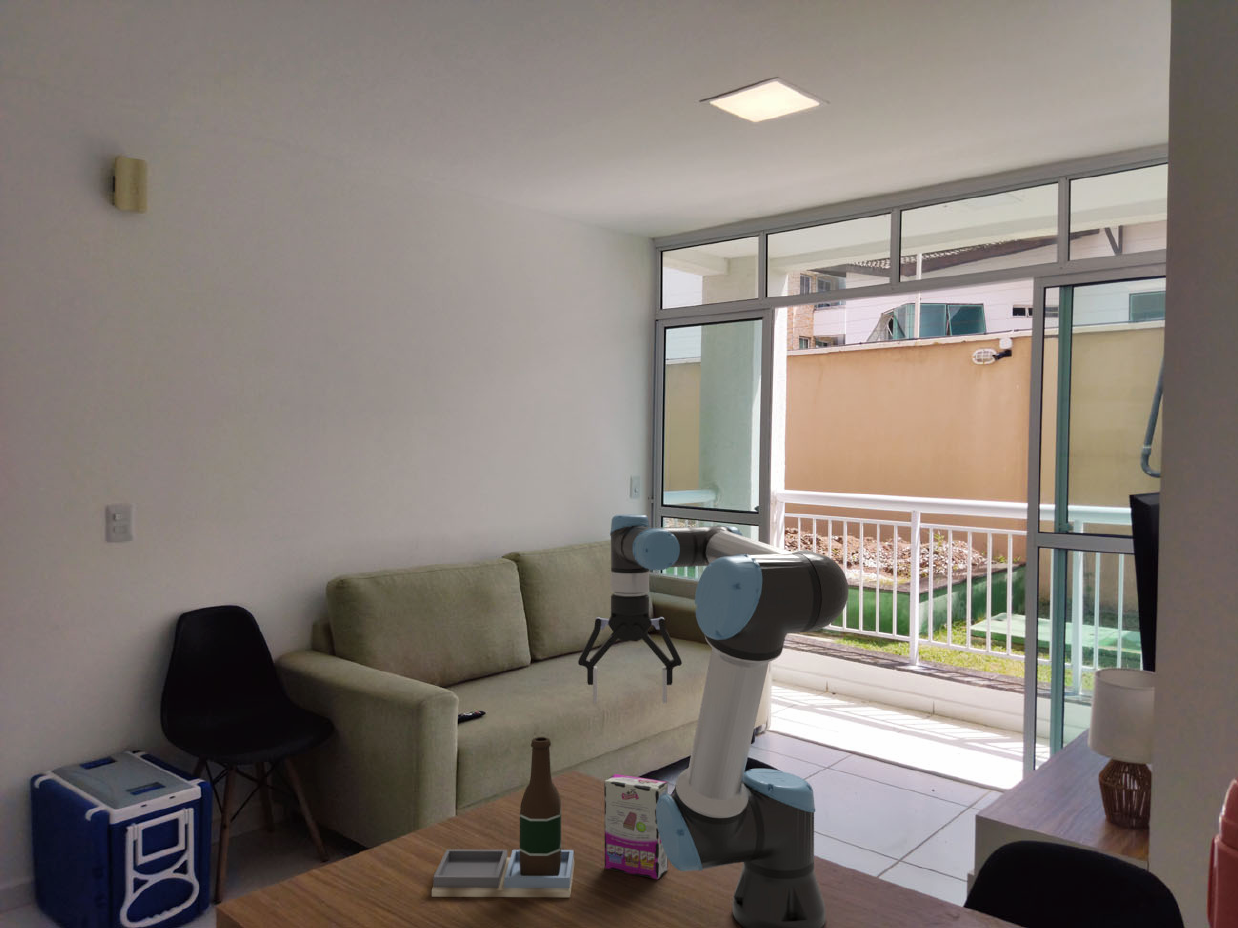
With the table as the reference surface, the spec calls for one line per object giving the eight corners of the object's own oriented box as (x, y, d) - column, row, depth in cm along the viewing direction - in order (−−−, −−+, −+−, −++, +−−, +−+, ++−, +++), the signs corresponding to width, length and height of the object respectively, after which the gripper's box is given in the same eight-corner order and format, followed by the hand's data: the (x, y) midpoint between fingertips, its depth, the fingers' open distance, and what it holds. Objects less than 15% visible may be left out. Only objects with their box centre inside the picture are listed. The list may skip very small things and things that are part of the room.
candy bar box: (669, 869, 164) (669, 780, 164) (658, 880, 160) (658, 789, 160) (615, 857, 169) (615, 771, 169) (603, 868, 164) (603, 780, 165)
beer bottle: (567, 877, 158) (568, 742, 158) (525, 884, 155) (525, 747, 155) (554, 859, 165) (554, 730, 165) (514, 866, 162) (514, 735, 162)
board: (574, 863, 166) (574, 857, 166) (569, 897, 153) (569, 890, 153) (446, 863, 166) (446, 856, 166) (431, 896, 153) (431, 889, 153)
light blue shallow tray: (573, 859, 166) (573, 849, 166) (569, 887, 154) (569, 877, 154) (512, 859, 166) (512, 849, 166) (504, 887, 154) (504, 877, 154)
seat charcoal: (507, 859, 166) (507, 849, 166) (498, 887, 154) (498, 877, 154) (446, 858, 166) (446, 849, 166) (433, 887, 154) (433, 876, 154)
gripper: (691, 590, 178) (691, 696, 177) (567, 590, 178) (567, 696, 177) (694, 595, 170) (694, 706, 170) (565, 595, 170) (565, 706, 170)
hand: (629, 701), depth 174 cm, fingers open, 13 cm apart
